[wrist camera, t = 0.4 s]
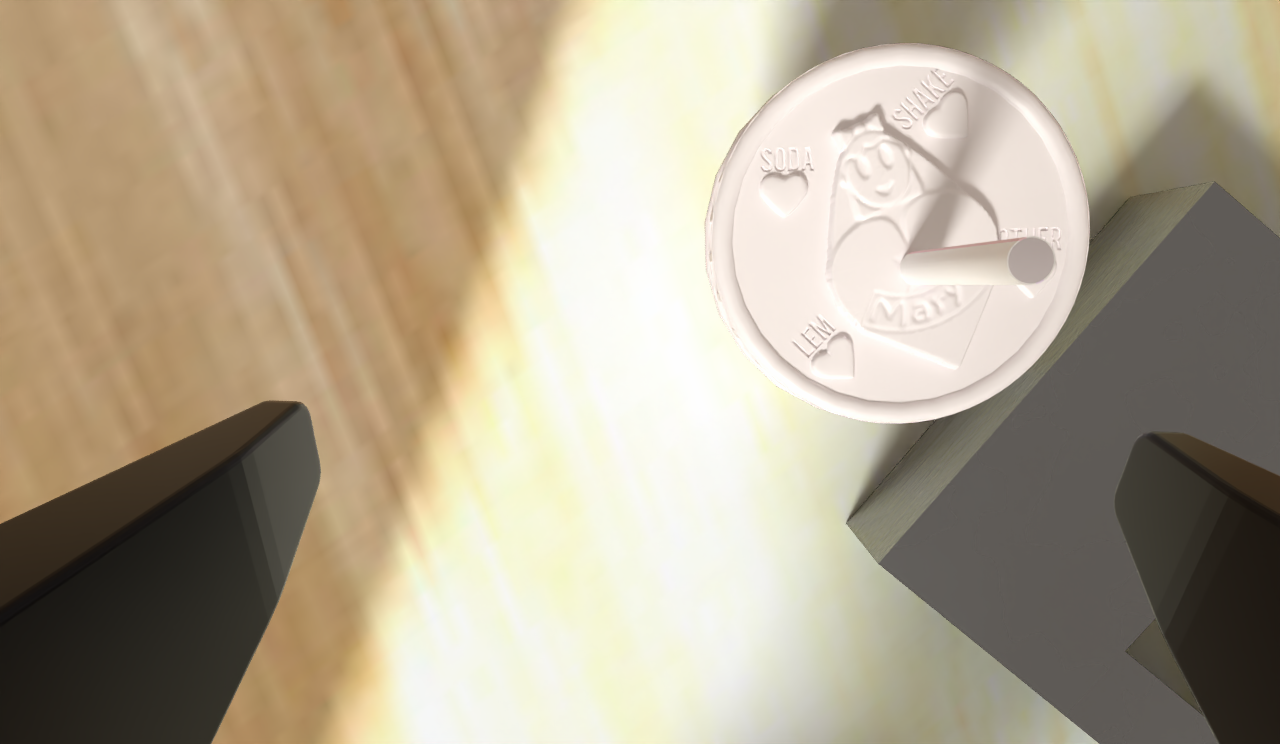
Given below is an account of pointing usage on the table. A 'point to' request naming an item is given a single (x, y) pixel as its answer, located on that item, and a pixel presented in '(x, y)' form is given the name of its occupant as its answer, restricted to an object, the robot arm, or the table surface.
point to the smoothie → (897, 233)
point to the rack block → (1092, 459)
